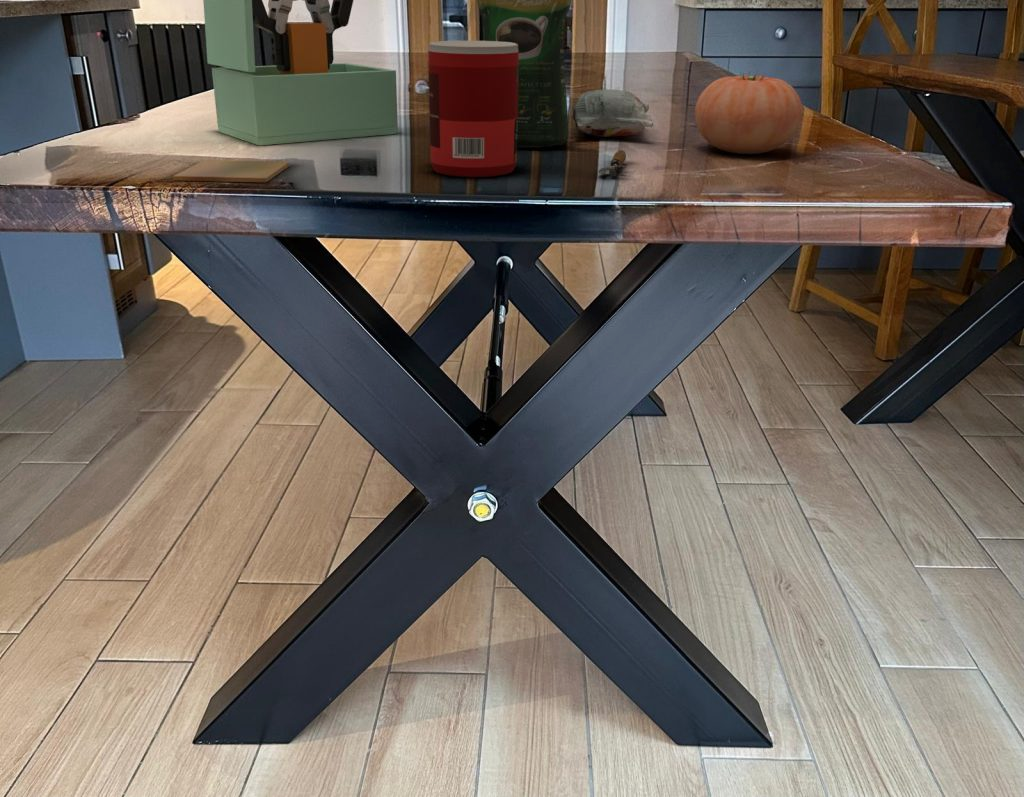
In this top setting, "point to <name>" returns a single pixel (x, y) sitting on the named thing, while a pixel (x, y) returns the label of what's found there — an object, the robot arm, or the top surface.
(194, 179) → the coaster
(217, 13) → the lunchbox lid
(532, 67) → the green coffee bag
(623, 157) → the can opener
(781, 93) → the orange pumpkin
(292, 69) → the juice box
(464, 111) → the canned food
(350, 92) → the box
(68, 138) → the top surface
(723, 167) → the top surface
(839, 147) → the top surface
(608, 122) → the packaged food
